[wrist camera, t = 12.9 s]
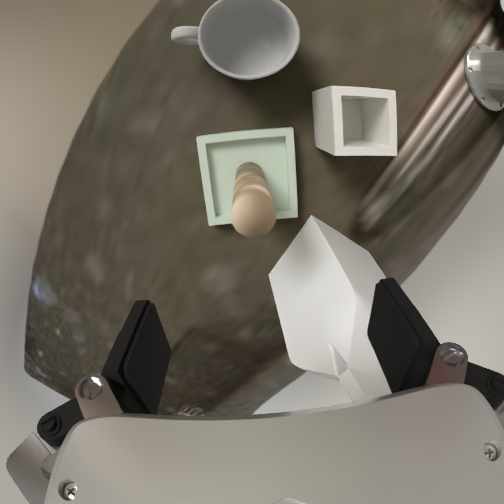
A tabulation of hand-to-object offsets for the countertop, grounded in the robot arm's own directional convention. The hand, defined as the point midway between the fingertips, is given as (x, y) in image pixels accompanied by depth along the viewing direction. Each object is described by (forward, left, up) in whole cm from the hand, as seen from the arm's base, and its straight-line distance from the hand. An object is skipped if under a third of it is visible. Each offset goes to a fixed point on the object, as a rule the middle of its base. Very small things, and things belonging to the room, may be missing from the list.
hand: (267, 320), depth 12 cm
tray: (0, 0, -30) cm, 30 cm away
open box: (-13, -7, -30) cm, 33 cm away
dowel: (0, 0, -29) cm, 29 cm away
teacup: (0, -18, -30) cm, 35 cm away
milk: (-10, +15, -30) cm, 35 cm away
